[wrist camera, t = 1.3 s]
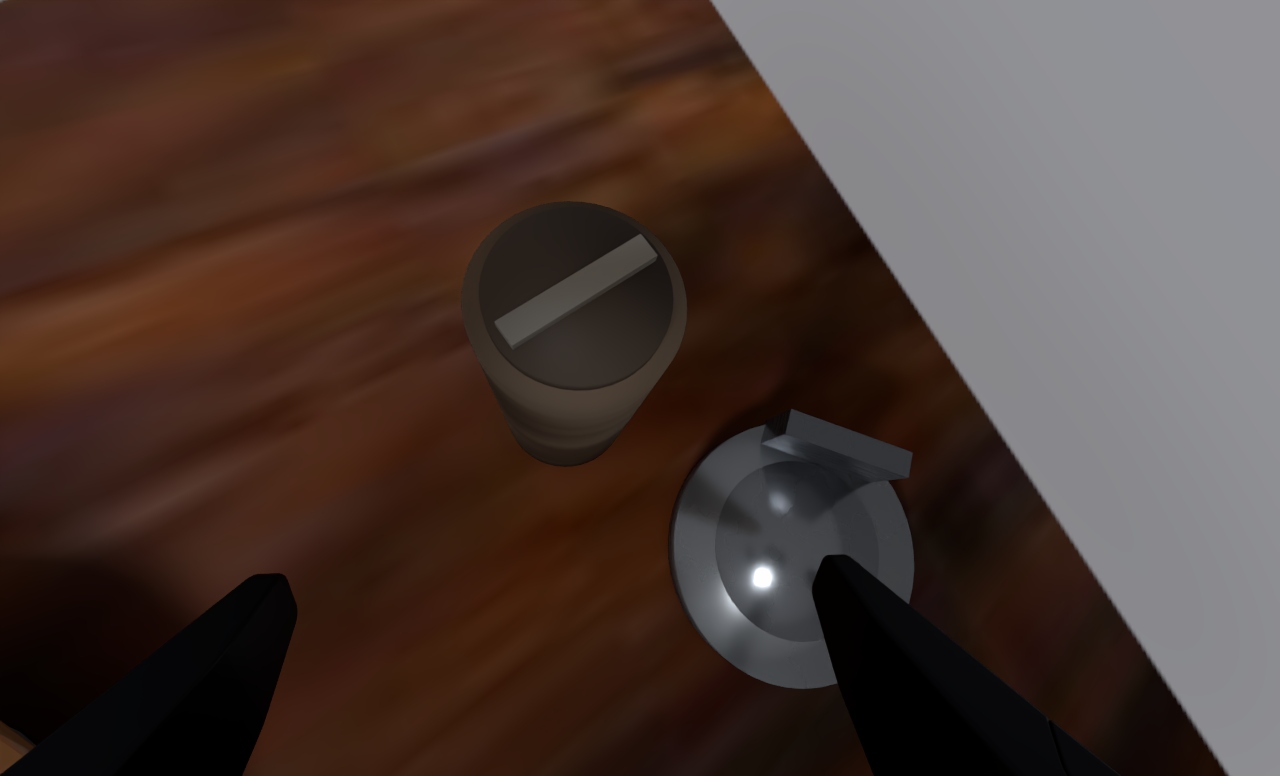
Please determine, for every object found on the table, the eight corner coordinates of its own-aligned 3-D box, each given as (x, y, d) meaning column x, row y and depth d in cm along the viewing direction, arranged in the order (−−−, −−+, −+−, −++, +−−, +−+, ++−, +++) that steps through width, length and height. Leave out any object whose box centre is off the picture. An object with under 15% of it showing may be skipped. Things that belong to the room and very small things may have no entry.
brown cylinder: (645, 422, 22) (740, 318, 11) (551, 490, 21) (548, 453, 10) (579, 333, 23) (604, 147, 11) (483, 394, 21) (406, 253, 10)
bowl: (873, 711, 20) (938, 749, 17) (635, 635, 20) (653, 659, 16) (911, 470, 23) (973, 461, 20) (705, 396, 23) (732, 374, 19)
